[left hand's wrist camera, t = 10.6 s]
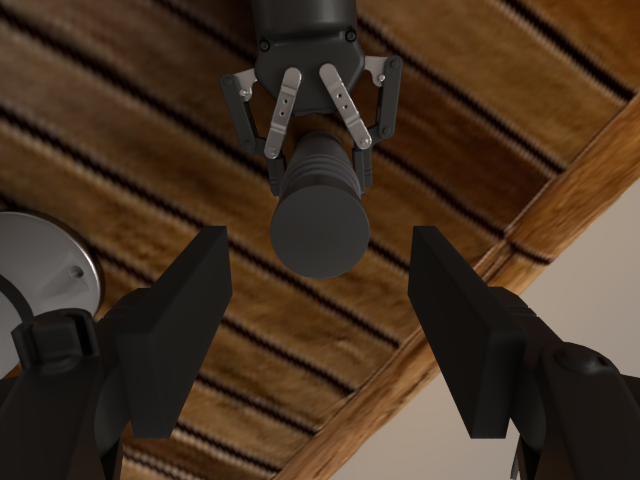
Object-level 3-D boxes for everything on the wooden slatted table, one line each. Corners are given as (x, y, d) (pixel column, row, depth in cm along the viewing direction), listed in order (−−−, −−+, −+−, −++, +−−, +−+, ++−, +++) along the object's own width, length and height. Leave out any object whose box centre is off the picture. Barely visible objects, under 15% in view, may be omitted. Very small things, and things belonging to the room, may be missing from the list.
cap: (382, 209, 19) (390, 224, 17) (328, 274, 20) (329, 295, 18) (310, 155, 18) (308, 164, 16) (258, 227, 19) (250, 244, 17)
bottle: (354, 150, 38) (398, 220, 17) (325, 189, 40) (330, 299, 18) (314, 119, 37) (307, 152, 16) (285, 161, 38) (243, 242, 17)
